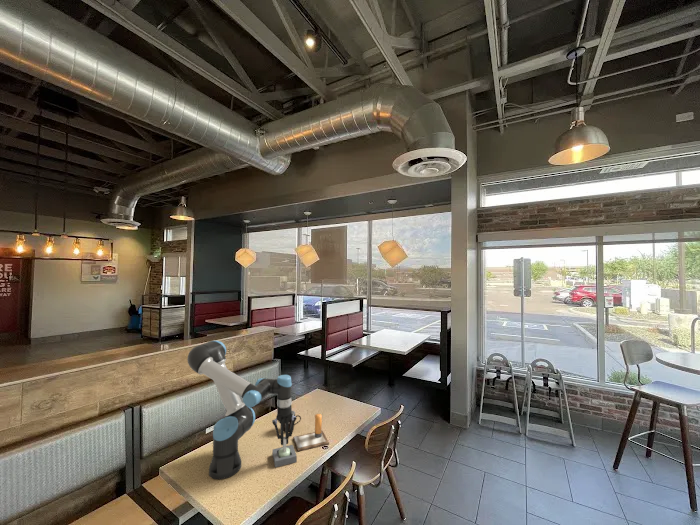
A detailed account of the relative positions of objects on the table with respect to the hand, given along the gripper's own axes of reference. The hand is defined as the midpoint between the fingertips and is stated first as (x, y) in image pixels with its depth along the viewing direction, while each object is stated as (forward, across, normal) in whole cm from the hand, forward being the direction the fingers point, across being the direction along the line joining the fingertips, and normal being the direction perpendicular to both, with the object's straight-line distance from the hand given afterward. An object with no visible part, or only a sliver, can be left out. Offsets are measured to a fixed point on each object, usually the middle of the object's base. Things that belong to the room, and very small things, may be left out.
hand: (284, 450), depth 154 cm
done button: (+3, 0, 0) cm, 3 cm away
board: (+4, +17, +10) cm, 20 cm away
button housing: (+4, 0, 0) cm, 4 cm away
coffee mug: (+5, +8, +27) cm, 29 cm away
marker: (+3, +22, +12) cm, 25 cm away
